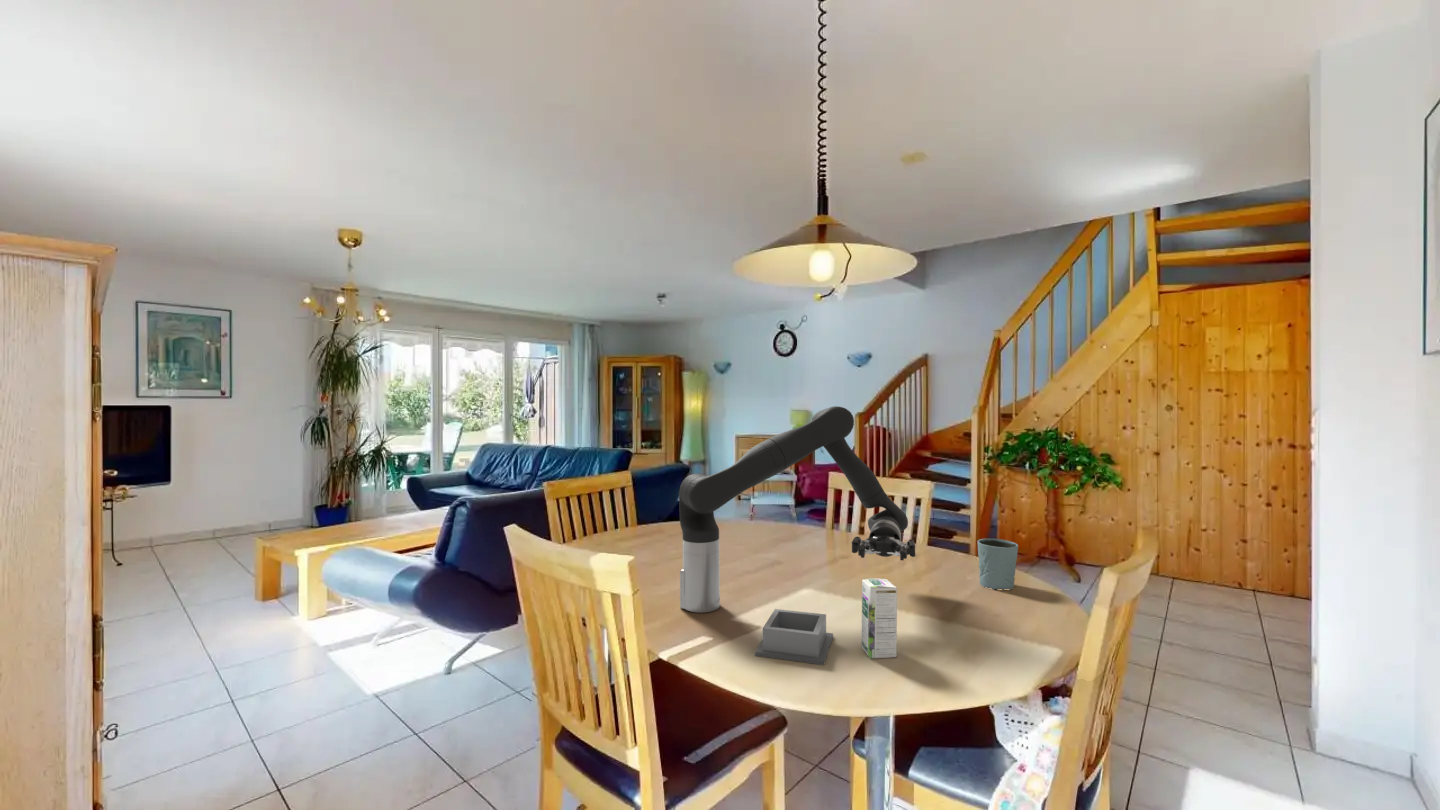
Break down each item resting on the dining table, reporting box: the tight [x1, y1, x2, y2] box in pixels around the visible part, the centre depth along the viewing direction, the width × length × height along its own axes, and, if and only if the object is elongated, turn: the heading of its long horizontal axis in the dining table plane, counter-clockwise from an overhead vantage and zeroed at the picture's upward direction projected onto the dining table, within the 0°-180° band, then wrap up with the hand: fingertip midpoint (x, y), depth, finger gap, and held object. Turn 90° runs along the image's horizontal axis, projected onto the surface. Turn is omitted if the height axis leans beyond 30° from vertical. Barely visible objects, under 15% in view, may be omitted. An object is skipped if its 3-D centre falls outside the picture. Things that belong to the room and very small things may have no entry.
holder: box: [754, 608, 834, 666], centre depth 124 cm, size 14×14×5 cm
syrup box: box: [861, 578, 898, 660], centre depth 120 cm, size 6×6×14 cm
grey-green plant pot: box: [977, 538, 1019, 590], centre depth 162 cm, size 10×10×12 cm
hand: (882, 554), depth 131 cm, fingers open, 8 cm apart
